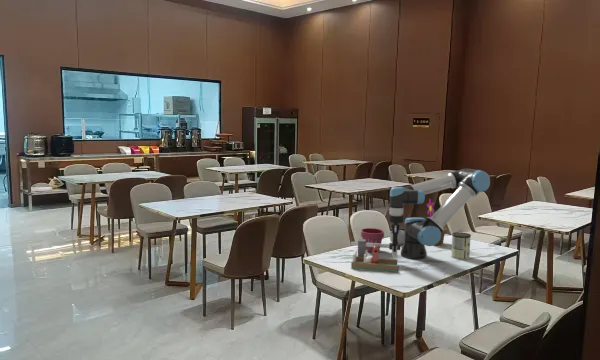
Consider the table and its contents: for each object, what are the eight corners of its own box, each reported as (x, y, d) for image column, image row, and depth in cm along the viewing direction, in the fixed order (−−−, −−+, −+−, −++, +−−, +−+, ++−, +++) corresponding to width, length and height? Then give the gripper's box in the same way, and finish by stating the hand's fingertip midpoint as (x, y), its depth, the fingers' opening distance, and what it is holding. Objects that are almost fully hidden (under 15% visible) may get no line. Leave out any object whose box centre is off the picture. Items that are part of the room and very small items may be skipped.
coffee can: (452, 254, 272) (453, 231, 270) (470, 256, 268) (471, 233, 266) (450, 258, 263) (451, 234, 261) (468, 260, 258) (470, 236, 257)
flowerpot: (420, 241, 303) (422, 197, 299) (440, 240, 304) (442, 197, 301) (428, 246, 288) (430, 200, 285) (449, 246, 290) (452, 200, 286)
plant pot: (386, 253, 271) (386, 233, 269) (363, 254, 270) (363, 233, 268) (380, 247, 285) (380, 227, 283) (358, 247, 284) (358, 228, 282)
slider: (399, 260, 251) (400, 242, 250) (399, 267, 239) (400, 248, 238) (351, 256, 258) (351, 239, 256) (348, 263, 245) (348, 245, 244)
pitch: (397, 262, 253) (398, 241, 251) (396, 272, 236) (397, 249, 234) (354, 259, 258) (355, 238, 257) (351, 268, 241) (351, 246, 240)
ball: (373, 261, 246) (370, 254, 246) (372, 263, 242) (370, 256, 242) (366, 263, 247) (363, 257, 247) (366, 266, 243) (363, 259, 243)
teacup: (406, 246, 289) (406, 234, 288) (389, 245, 291) (389, 233, 290) (405, 240, 303) (406, 229, 302) (389, 239, 305) (389, 228, 304)
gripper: (389, 211, 256) (388, 251, 259) (388, 217, 241) (387, 259, 243) (403, 212, 254) (401, 252, 257) (403, 218, 239) (401, 260, 242)
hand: (394, 256), depth 250 cm, fingers closed on slider, 3 cm apart
